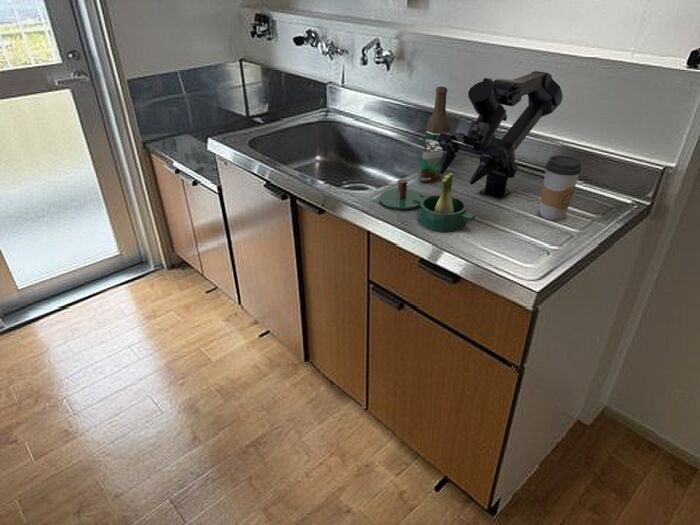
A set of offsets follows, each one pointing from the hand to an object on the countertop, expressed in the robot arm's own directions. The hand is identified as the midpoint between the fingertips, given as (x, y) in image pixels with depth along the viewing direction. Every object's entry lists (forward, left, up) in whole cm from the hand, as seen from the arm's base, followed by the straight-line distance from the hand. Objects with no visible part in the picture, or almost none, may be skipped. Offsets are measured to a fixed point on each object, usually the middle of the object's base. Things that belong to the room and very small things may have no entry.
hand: (455, 178), depth 123 cm
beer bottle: (-30, -24, -11) cm, 40 cm away
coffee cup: (-18, +20, -11) cm, 29 cm away
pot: (+4, 0, -11) cm, 11 cm away
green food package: (-19, -18, -11) cm, 29 cm away
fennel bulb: (+3, 0, -10) cm, 11 cm away
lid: (+1, -15, -10) cm, 18 cm away
